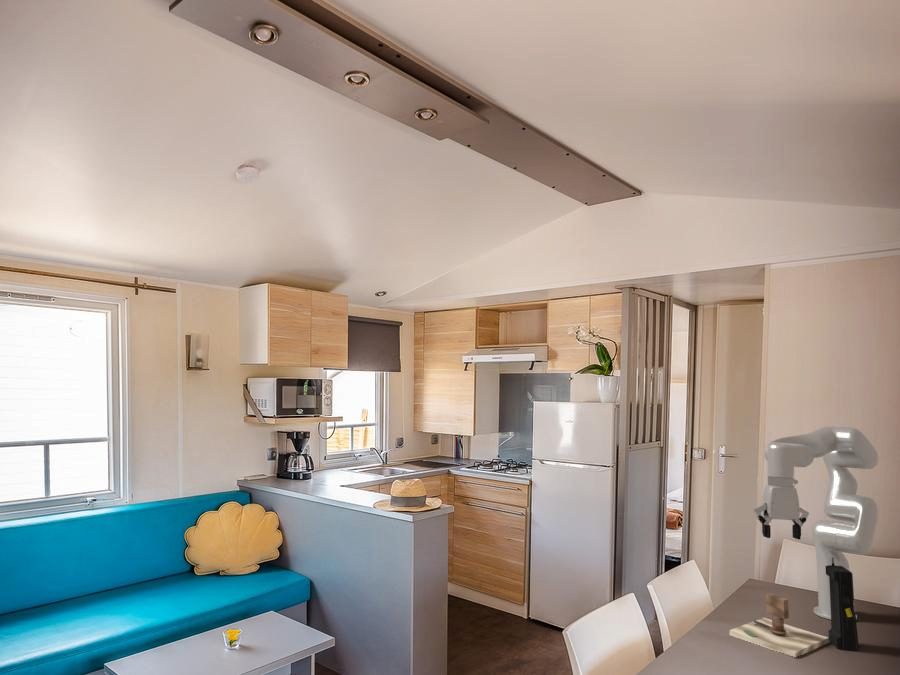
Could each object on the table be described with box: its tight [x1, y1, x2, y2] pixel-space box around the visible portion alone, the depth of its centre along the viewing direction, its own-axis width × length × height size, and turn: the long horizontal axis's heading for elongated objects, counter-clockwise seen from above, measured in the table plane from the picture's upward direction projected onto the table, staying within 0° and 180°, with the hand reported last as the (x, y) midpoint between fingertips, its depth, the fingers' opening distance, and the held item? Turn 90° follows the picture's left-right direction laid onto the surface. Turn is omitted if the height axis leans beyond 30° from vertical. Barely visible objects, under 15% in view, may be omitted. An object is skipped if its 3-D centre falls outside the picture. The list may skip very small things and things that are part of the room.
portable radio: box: [825, 559, 860, 652], centre depth 185 cm, size 8×6×25 cm
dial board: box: [729, 617, 830, 658], centre depth 190 cm, size 20×20×2 cm
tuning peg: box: [753, 593, 790, 635], centre depth 193 cm, size 12×4×11 cm, turn 25°
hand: (781, 537), depth 195 cm, fingers open, 9 cm apart
